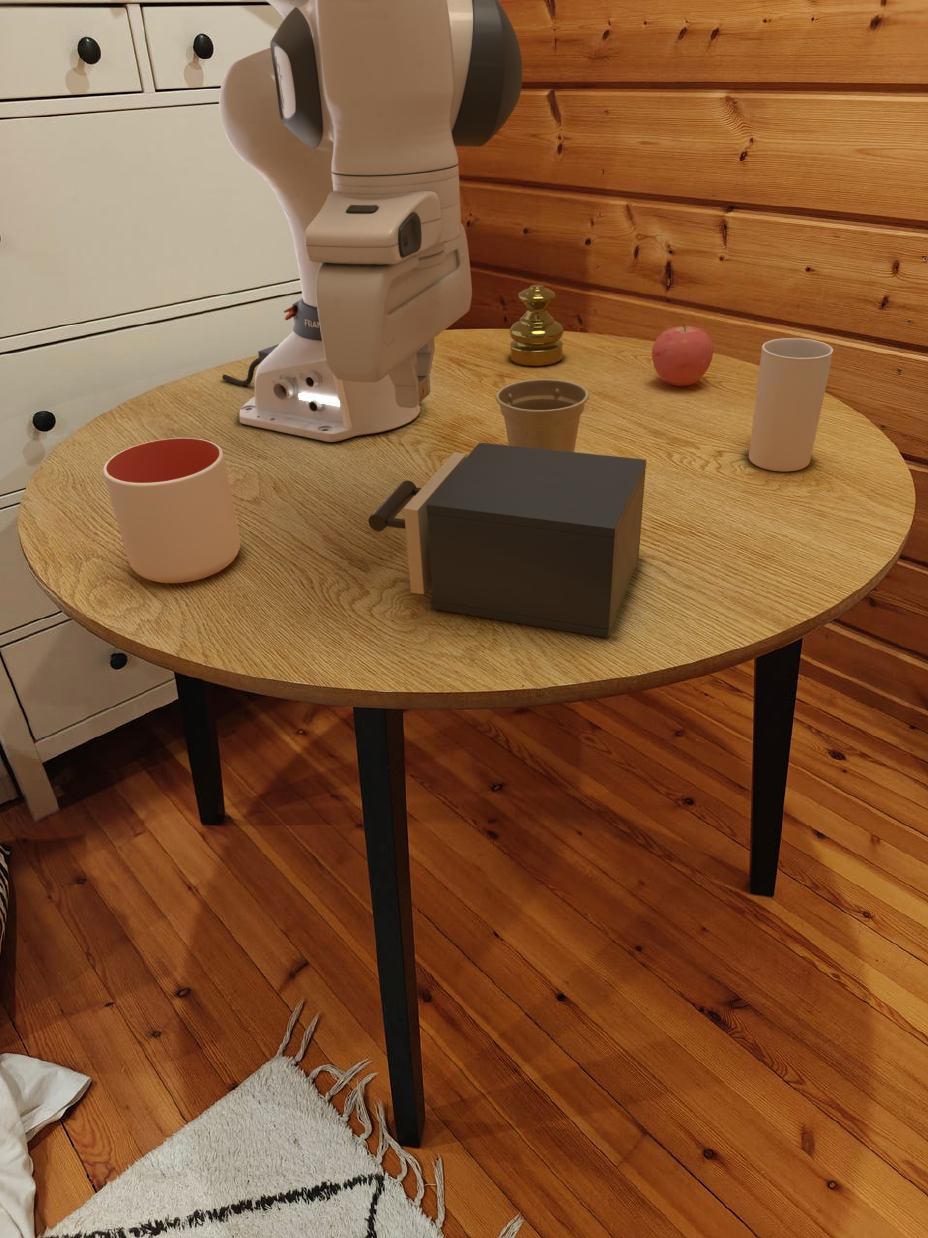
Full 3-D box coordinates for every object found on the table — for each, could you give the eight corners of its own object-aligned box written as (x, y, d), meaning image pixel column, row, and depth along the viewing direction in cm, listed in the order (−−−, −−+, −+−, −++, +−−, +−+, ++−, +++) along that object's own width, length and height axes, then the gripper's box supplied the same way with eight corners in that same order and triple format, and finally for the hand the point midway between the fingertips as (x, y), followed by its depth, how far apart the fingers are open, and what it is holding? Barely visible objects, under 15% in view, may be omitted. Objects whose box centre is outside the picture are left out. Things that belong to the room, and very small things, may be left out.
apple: (676, 398, 113) (683, 333, 108) (639, 382, 118) (643, 320, 114) (721, 386, 116) (729, 323, 111) (682, 371, 121) (688, 310, 117)
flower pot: (484, 485, 94) (482, 405, 89) (512, 450, 101) (511, 375, 96) (573, 496, 91) (575, 414, 86) (594, 459, 98) (598, 382, 93)
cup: (144, 539, 87) (118, 441, 81) (248, 531, 87) (230, 433, 82) (119, 593, 78) (89, 488, 73) (235, 585, 79) (214, 479, 73)
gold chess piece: (511, 351, 131) (511, 279, 126) (562, 350, 131) (564, 278, 125) (508, 367, 125) (507, 293, 120) (562, 367, 124) (564, 292, 119)
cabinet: (433, 609, 74) (426, 504, 69) (482, 539, 84) (479, 442, 79) (608, 638, 70) (615, 528, 65) (638, 560, 80) (646, 459, 74)
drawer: (362, 585, 76) (352, 501, 72) (413, 524, 85) (407, 447, 81) (569, 617, 71) (571, 529, 66) (600, 549, 80) (604, 468, 75)
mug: (821, 471, 93) (844, 356, 87) (757, 475, 93) (775, 360, 87) (788, 434, 102) (806, 327, 95) (729, 437, 102) (743, 330, 95)
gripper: (413, 189, 73) (425, 359, 81) (290, 240, 57) (319, 445, 65) (487, 189, 71) (492, 363, 79) (381, 241, 55) (400, 453, 63)
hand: (413, 401), depth 71 cm, fingers closed
